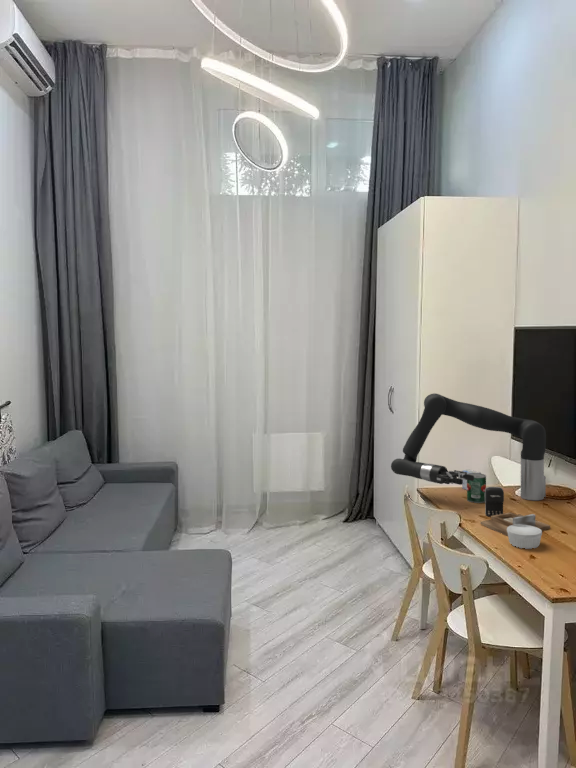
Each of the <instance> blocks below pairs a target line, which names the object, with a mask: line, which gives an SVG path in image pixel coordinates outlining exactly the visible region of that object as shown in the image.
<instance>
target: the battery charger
mask: <svg viewBox="0 0 576 768" xmlns="http://www.w3.org/2000/svg"><path fill="white" fill-rule="evenodd" d="M504 503H505V494H504V489H503V488H502V487H501V486H486V489H485V502H484V506H485V507H484V508H485V509H484V511H485V512H484V514H485V516H487V517H491V516H494V515H499V514H504Z"/></svg>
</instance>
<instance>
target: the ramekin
mask: <svg viewBox="0 0 576 768" xmlns="http://www.w3.org/2000/svg"><path fill="white" fill-rule="evenodd" d="M507 532H508V536H507V537H508V542H509V544H510V545H511V544H512V545H511V546H513V547H515V546H516V547H515V548H518V547H519V548H518V549H522V548H525V549H524V550H533V549H532V548H534V549H536V548H538V547H539V546H540V544H541V539H542V535H543V530H541V529H539V528H537V527H534V526H529V525H511V526H508V527H507Z"/></svg>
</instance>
